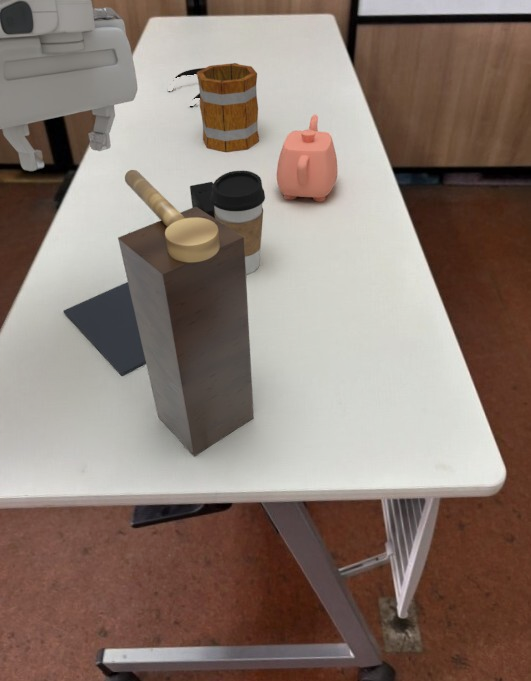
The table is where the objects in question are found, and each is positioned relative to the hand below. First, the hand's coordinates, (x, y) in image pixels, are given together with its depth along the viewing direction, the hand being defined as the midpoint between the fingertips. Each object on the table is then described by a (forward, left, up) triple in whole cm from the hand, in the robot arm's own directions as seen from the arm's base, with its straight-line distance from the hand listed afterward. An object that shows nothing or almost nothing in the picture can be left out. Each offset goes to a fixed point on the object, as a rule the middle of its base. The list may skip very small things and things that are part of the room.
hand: (69, 158), depth 61 cm
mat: (-2, +6, -29) cm, 29 cm away
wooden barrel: (-8, +77, -29) cm, 83 cm away
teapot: (+15, +54, -29) cm, 63 cm away
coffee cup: (+10, +25, -29) cm, 40 cm away
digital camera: (+1, +34, -29) cm, 45 cm away
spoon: (+13, -5, -3) cm, 14 cm away
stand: (+16, -8, -29) cm, 34 cm away
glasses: (-24, +103, -29) cm, 110 cm away
